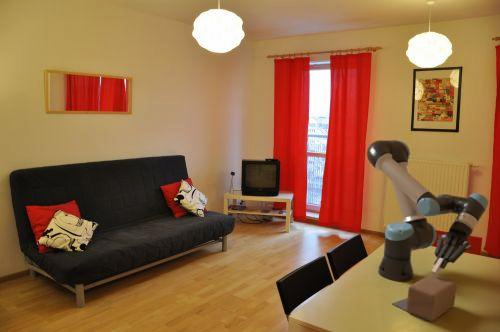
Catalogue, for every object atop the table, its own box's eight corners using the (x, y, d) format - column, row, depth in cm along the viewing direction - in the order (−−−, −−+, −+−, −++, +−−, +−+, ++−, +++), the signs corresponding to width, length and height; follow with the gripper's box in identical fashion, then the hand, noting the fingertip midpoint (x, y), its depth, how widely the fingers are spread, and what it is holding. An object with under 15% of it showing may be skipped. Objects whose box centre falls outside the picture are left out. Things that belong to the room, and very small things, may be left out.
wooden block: (431, 272, 160) (407, 285, 147) (457, 281, 153) (435, 295, 140) (429, 296, 162) (405, 311, 148) (454, 305, 154) (432, 322, 141)
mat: (420, 294, 164) (420, 293, 164) (453, 308, 153) (453, 307, 153) (391, 304, 155) (391, 303, 155) (424, 320, 143) (424, 319, 143)
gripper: (444, 217, 166) (416, 262, 159) (476, 224, 155) (447, 274, 148) (450, 227, 170) (422, 272, 163) (482, 236, 159) (453, 285, 152)
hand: (434, 273), depth 156 cm, fingers closed
